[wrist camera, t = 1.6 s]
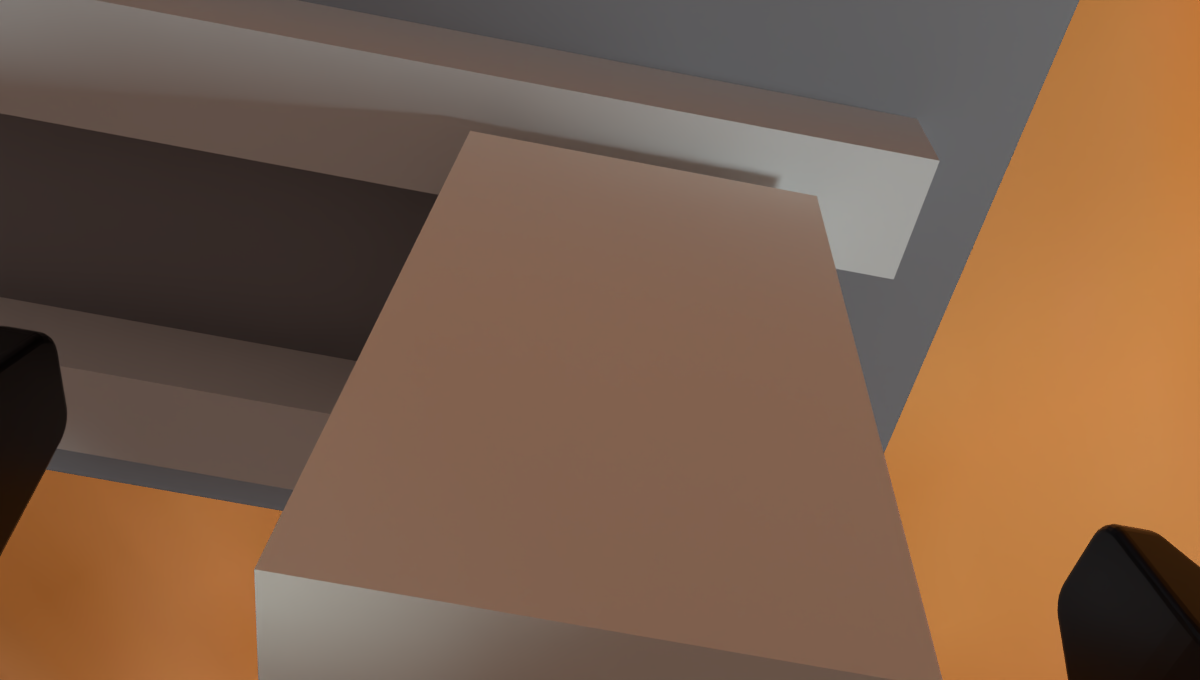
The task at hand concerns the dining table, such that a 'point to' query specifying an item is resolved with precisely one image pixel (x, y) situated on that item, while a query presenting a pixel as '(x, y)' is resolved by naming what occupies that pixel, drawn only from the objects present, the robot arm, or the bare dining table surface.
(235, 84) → the fader console
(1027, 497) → the dining table surface
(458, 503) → the fader tab
